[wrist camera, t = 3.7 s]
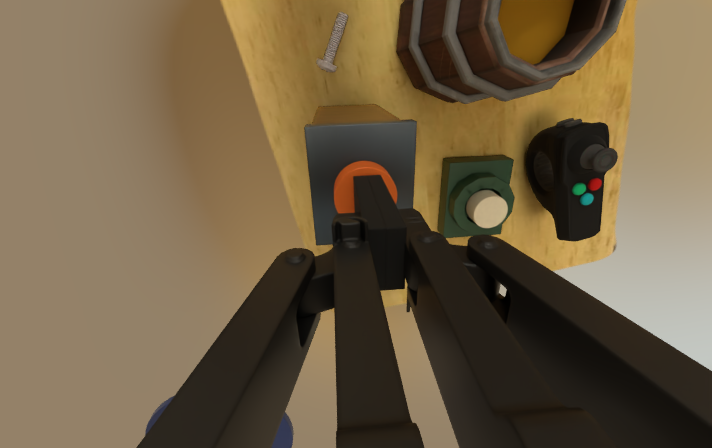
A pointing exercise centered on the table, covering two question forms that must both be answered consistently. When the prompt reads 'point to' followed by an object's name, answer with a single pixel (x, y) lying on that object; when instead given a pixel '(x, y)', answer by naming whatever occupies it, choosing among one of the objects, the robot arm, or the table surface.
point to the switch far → (471, 192)
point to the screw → (333, 44)
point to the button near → (346, 187)
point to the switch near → (356, 155)
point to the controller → (571, 175)
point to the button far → (486, 208)
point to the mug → (500, 44)
